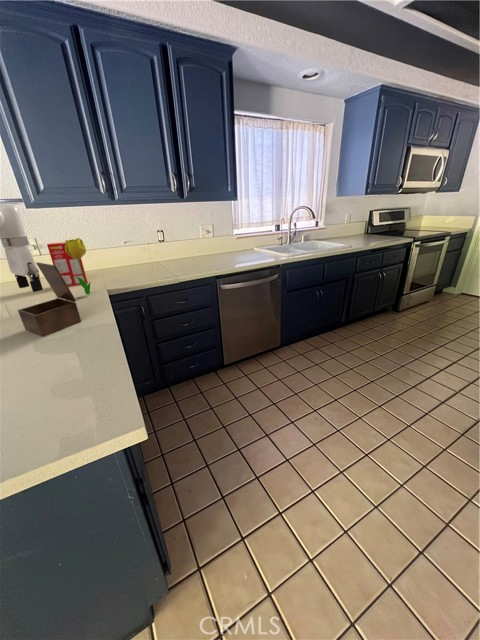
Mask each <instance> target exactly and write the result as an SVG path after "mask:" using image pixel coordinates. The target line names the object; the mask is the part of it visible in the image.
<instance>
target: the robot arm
mask: <svg viewBox="0 0 480 640" xmlns="http://www.w3.org/2000/svg"><path fill="white" fill-rule="evenodd" d="M0 241H1V242H0V243H1V245H2V248H3V249H4V253H5V257H6V261H7V265H8V268H9V270H10V271H9V272H10V273H11V274H13V275H14V278H15V279H16V282H17V285H18V288H19V289H25V288H29V287H31V290H32V292H33V293H36V292H40V291H43V290H44V288H43V285H42V282H41V277H40V276H41V275H40V271H39V270H40V269H39V268H38V266H37V264H36V261H35V258H34V256H33V253H32V252H31V251H32V250H31V248H30V247H31V244H30V241H29V238H28V235H27V232H26V228H25V225H24V222H23V217H22V216H21V213H20V209H19V208H18V206H16V205H15V204H0ZM28 279H29V280H28Z"/></svg>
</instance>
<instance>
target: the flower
mask: <svg viewBox="0 0 480 640" xmlns="http://www.w3.org/2000/svg"><path fill="white" fill-rule="evenodd" d="M64 242H65V251H66V253H67V254H68V255H69V256H71V257H72V258H74V259H78V262H79V265H80V261H79V259H81V260H82V258H83V256H85V255H86V253H87V248H86V246H85V245H86V244H85V243H84V242H83V240H82V239H81V238H79V237H77V238H73V239H66V240H64ZM80 268H81V265H80ZM81 272H82V269H81ZM82 275H83V272H82ZM76 278H78V279H79V282H80V284H81V285H80V286H81V287H82V288H83V291H84V294H85V295H87V296H90V294H91V291H90V290H91V284H92V282H88V284H86V282H85V280H84V281H83V280H82V279H81V278H79V277H76ZM83 278H84V276H83Z"/></svg>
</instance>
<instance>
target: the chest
mask: <svg viewBox="0 0 480 640" xmlns="http://www.w3.org/2000/svg"><path fill="white" fill-rule="evenodd" d="M17 312H18V315H19V317H20V320H21V322H22V325H23V327H24V330H25V332H26V331H27V332H29V333H31V334H34V335H37V336H39V337H42V338H43V337H46V336H49V335H52V334H53V333H56V332H59V331H61V330H64V329H66V328H69V327H71V326H74V325H76V324H79V323H81V322H82V319H81V316H80V313H79V308H78V305H77V303H76V302H73V301H69V300H65V299H62V298H58V297H57V298H54V299H50V300H47V301H43V302H40V303H37V304H33V305H30V306H27V307H23V308H20V309H17Z"/></svg>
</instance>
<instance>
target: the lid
mask: <svg viewBox="0 0 480 640" xmlns="http://www.w3.org/2000/svg"><path fill="white" fill-rule="evenodd" d="M35 264H36V267H37V268H38V270H40V272H41V273H42V275H43V277H44V279H45V280H46V281H47V283H48V285H49V286H50V288H51V289H52V291H53V294H55V296H56V297H57V298H60V299H64V300H68V301H72V302H75V303H76V302H77V300H76V298H75V296H74V295H73V293H72V291H71V289H70V288H69V286H67V284H66V283H65V281H64V279H63V277H62V276H61V274H60V272H59V271H58V269H57V267H56V265H53V264H49V263H43V262H35Z"/></svg>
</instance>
